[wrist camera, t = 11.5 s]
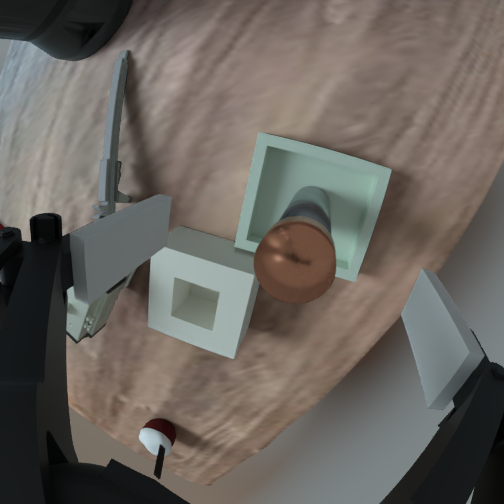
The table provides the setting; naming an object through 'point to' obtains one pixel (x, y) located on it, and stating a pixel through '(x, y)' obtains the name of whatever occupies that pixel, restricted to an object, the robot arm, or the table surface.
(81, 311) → the pneumatic valve
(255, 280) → the block
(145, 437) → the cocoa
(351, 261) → the tray
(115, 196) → the caliper
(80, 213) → the table surface
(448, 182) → the table surface
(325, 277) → the pin
